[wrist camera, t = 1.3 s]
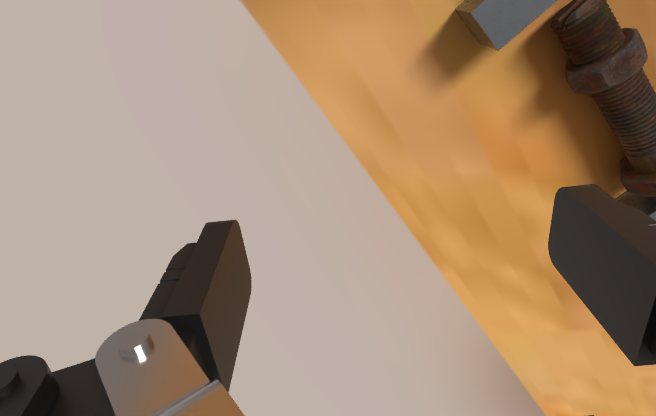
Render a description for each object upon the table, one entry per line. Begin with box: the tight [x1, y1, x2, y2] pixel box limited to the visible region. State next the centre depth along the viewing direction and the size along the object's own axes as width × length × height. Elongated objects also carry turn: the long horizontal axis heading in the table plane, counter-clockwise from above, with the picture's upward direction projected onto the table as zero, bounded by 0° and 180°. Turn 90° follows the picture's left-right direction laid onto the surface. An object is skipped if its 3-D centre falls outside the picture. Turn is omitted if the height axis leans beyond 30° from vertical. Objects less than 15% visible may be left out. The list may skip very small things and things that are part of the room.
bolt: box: [551, 0, 656, 197], centre depth 30 cm, size 6×5×15 cm
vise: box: [455, 0, 656, 221], centre depth 30 cm, size 10×30×4 cm, turn 43°
